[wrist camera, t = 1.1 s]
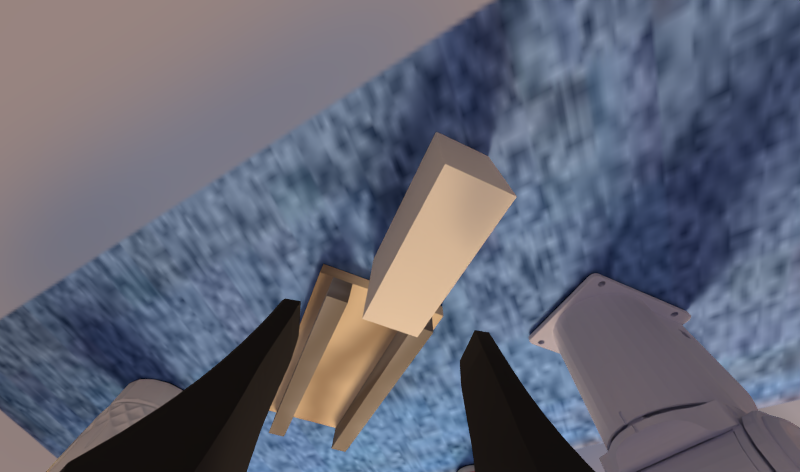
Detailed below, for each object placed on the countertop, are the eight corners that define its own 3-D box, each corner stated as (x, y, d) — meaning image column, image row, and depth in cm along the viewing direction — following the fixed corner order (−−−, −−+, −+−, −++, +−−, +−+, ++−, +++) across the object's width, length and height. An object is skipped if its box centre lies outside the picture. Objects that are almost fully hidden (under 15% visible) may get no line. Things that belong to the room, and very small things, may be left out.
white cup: (143, 416, 35) (58, 532, 27) (107, 373, 31) (-8, 495, 23) (209, 417, 35) (144, 535, 26) (181, 374, 31) (93, 498, 22)
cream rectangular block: (487, 155, 18) (516, 196, 13) (416, 274, 23) (417, 337, 18) (435, 131, 18) (445, 163, 13) (373, 258, 23) (362, 318, 18)
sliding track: (442, 306, 25) (445, 336, 22) (358, 423, 34) (354, 453, 32) (323, 264, 23) (312, 290, 20) (270, 400, 33) (258, 430, 30)
